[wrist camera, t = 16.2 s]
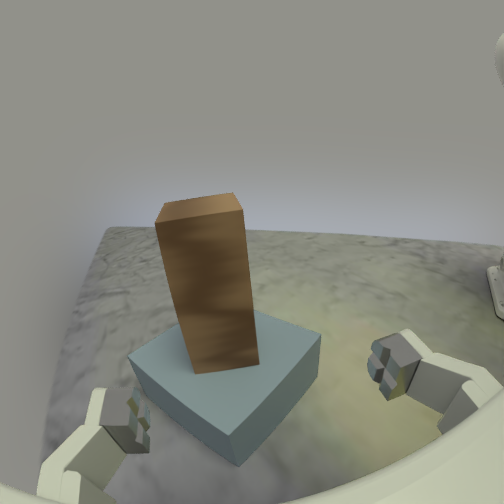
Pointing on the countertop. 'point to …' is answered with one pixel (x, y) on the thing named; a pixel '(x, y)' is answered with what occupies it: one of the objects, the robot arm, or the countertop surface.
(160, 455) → the countertop surface
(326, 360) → the countertop surface
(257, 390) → the slate block
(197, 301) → the walnut block
